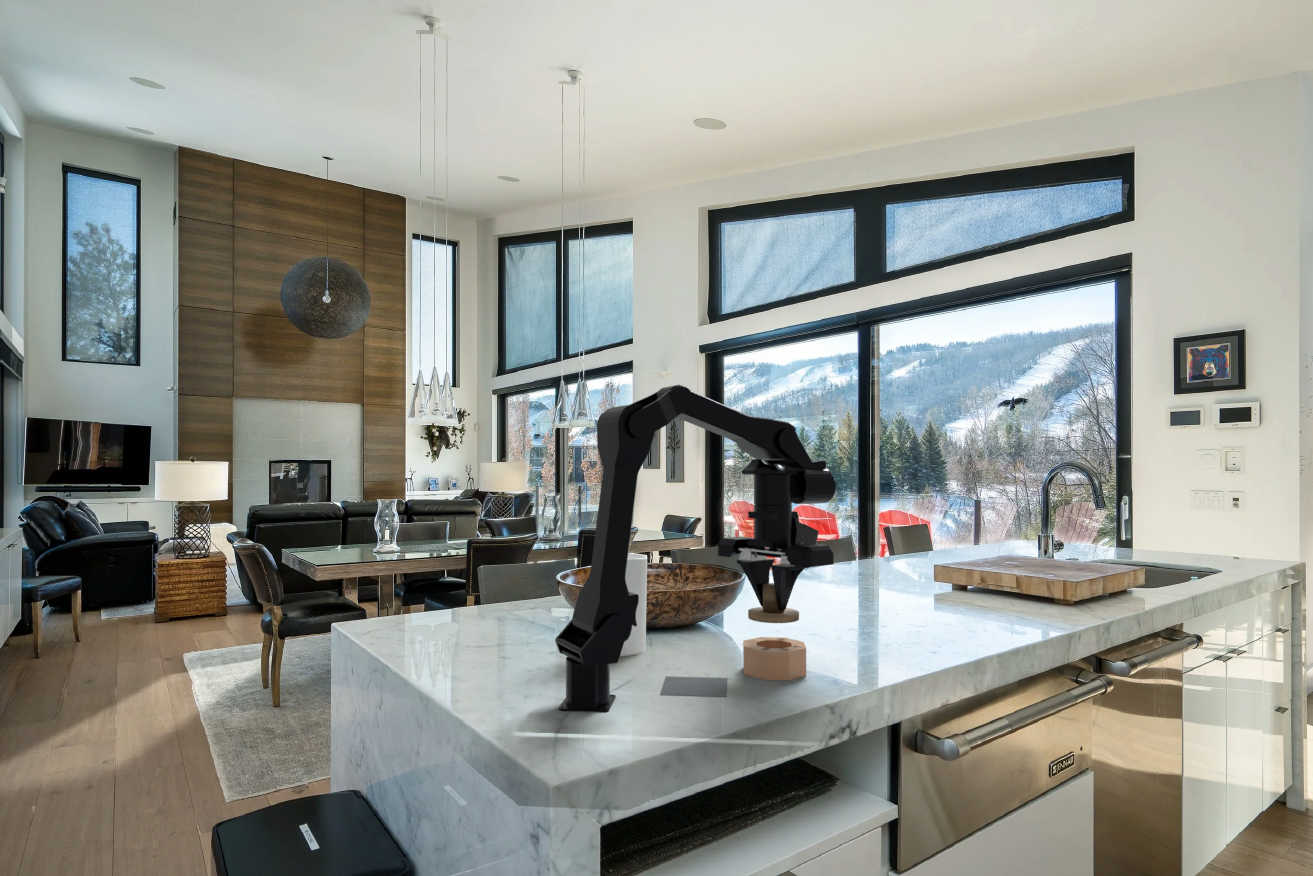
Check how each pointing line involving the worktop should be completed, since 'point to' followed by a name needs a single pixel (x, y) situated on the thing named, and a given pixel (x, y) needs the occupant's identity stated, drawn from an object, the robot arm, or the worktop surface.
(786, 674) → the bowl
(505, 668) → the worktop surface
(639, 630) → the cup
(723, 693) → the mat
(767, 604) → the lid
